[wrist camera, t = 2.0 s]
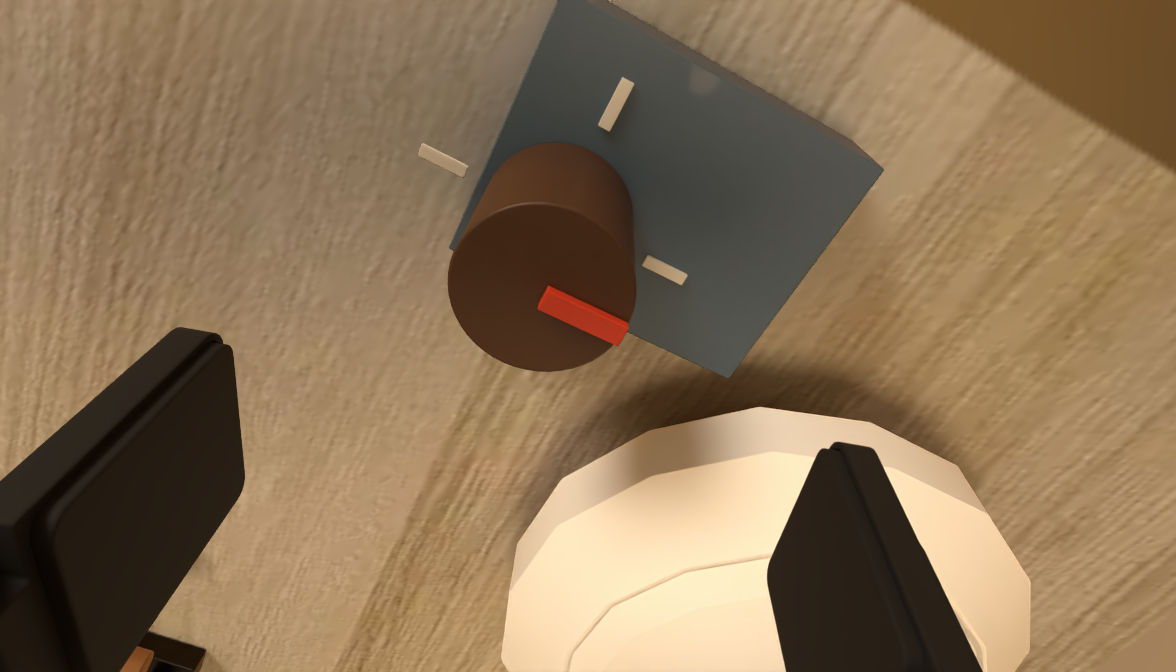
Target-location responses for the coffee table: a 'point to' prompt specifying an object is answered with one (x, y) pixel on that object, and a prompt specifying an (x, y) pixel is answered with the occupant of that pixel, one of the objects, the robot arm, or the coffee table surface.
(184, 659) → the bracket
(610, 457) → the white vase
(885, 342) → the coffee table surface
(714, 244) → the panel
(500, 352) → the knob
